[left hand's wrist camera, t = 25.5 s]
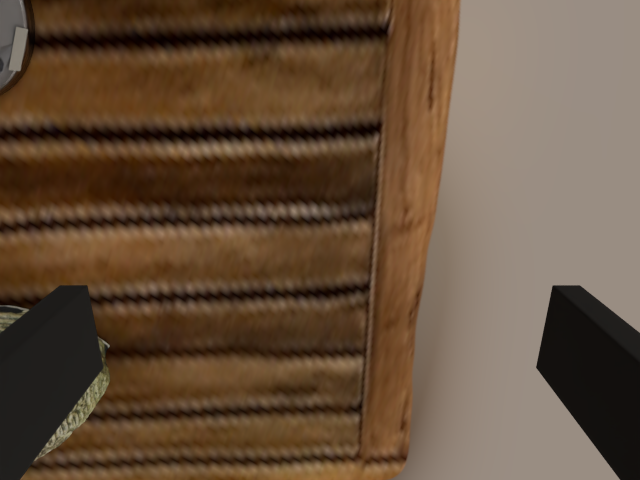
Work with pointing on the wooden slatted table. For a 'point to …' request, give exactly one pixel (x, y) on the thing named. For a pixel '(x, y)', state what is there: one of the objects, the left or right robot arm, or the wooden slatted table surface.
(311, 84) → the wooden slatted table surface
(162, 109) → the wooden slatted table surface
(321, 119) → the wooden slatted table surface
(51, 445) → the fossil
